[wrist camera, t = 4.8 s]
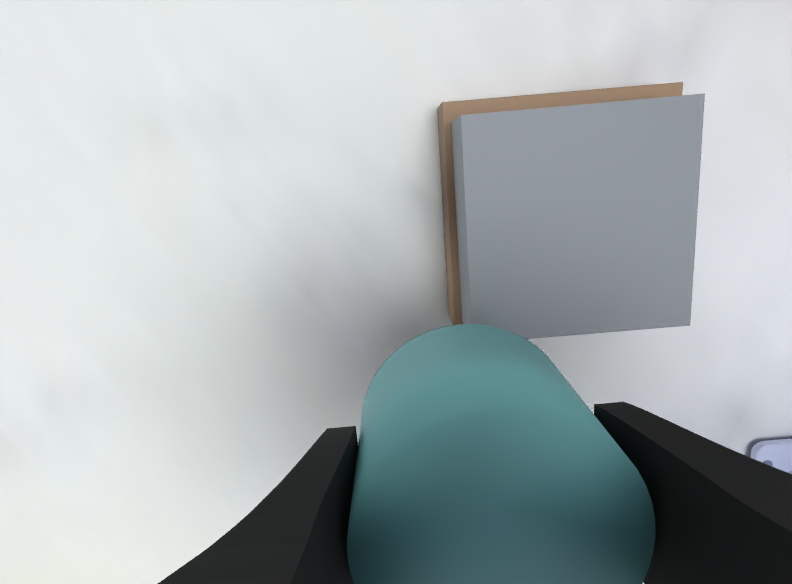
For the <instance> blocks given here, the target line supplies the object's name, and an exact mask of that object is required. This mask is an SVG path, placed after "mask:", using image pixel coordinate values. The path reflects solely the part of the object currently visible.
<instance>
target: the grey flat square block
mask: <svg viewBox="0 0 792 584" xmlns="http://www.w3.org/2000/svg"><path fill="white" fill-rule="evenodd" d="M704 97H705V94H695V95H683V96H672V97H661V98H649V99H638V100H627V101H616V102H604V103H593V104H582V105H570V106H559V107H548V108H536V109H525V110H514V111H502V112H491V113H480V114H468V115H460V116H459V117H458V118H456V119H455V120H454V121H452V122H451V130H452V148H453V167H454V185H455V203H456V222H457V240H458V258H459V277H460V295H461V313H462V321H463V324H479V325H489V326H493V327H498V328H502V329H505V330H507V331H510V332H513V333H515V334H517V335H519V336H521V337H523V338H525V339H531V338H543V337H555V336H567V335H579V334H591V333H604V332H616V331H628V330H640V329H652V328H664V327H676V326H689V325H690V318H691V302H692V286H693V270H694V255H695V239H696V223H697V207H698V191H699V176H700V160H701V144H702V128H703V112H704Z"/></svg>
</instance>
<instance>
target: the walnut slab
mask: <svg viewBox="0 0 792 584" xmlns="http://www.w3.org/2000/svg"><path fill="white" fill-rule="evenodd" d="M682 90H683V82H678V83H666V84H654V85H642V86H630V87H619V88H607V89H595V90H583V91H571V92H560V93H548V94H536V95H524V96H512V97H500V98H489V99H477V100H465V101H453V102H442V104H441V105H440V106H439V107H438V108H437V113H438V131H439V149H440V167H441V184H442V202H443V220H444V237H445V255H446V273H447V290H448V308H449V315H450V318H451V321H452V323H453V325H459V324H463V321H462V313H461V295H460V277H459V258H458V240H457V222H456V203H455V185H454V167H453V148H452V130H451V122H452V121H454V120H455V119H456V118H458V117H459V116H460V115H468V114H480V113H491V112H502V111H514V110H525V109H536V108H548V107H559V106H570V105H582V104H593V103H604V102H616V101H627V100H638V99H649V98H661V97H672V96H682Z"/></svg>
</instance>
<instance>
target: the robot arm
mask: <svg viewBox="0 0 792 584" xmlns="http://www.w3.org/2000/svg"><path fill="white" fill-rule="evenodd" d="M594 415H595V417H596V418H597V419H598V420H599V422H600V423H601V424H602V425H603V427H604V428H605V429H606V430H607V432H608V433H609V434H610V435H611V437H612V438H613V439H614V441H615V442H616V443H617V444H618V446H619V447H620V448H621V449H622V451H623V452H624V453H625V454H626V456H627V457H628V458H629V459H630V461H631V462H632V463H633V464H634V466H635V467H636V468H637V470H638V472H639V473H640V475H641V477H642V479H643V481H644V482H645V484H646V487H647V489H648V492H649V495H650V498H651V500H652V505H653V510H654V515H655V533H656V535H655V543H654V552H653V555H652V559H651V563H650V566H649V569H648V571H647V574H646V576H645V578H644V581H643V582H644V583H645V584H792V439H780V440H767V441H761V442H758V443H756V444H755V445H754V446H753V447H752V450H751V456H750V457H747V456H745V455H743V454H740V453H738V452H735V451H733V450H731V449H729V448H726V447H724V446H722V445H719V444H717V443H715V442H713V441H710V440H708V439H706V438H704V437H702V436H700V435H697V434H695V433H693V432H691V431H689V430H687V429H684V428H682V427H680V426H678V425H676V424H674V423H672V422H669V421H667V420H665V419H663V418H661V417H659V416H657V415H654V414H652V413H650V412H648V411H645V410H643V409H641V408H638V407H636V406H634V405H631V404H628V403H625V402H617V403H606V404H595V405H594ZM357 451H358V442H357V434H356V426H351V427H340V428H329V429H327V430H326V431H325V432H324V433H323V434H322V435H321V436H320V437H319V439H318V440H317V441H316V442H315V443H314V444H313V446H312V447H311V448H310V449H309V450H308V452H307V453H306V454H305V455H304V456H303V457H302V459H301V460H300V461H299V462H298V463H297V465H296V466H295V467H294V468H293V469H292V470H291V471H290V472H289V473H288V475H287V476H286V477H285V478H284V479H283V480H282V481H281V482H280V483H279V484H278V485H277V486H276V487H275V488H274V489H273V490H272V491H271V492H270V493H269V494H268V495H267V496H266V497H265V498H264V499H263V500H262V501H261V502H260V503H259V504H258V505H257V506H256V507H255V508H254V509H253V510H252V511H251V512H250V513H249V514H248V515H247V516H246V517H245V518H244V519H243V520H241V521H240V522H239V523H238V524H237V525H236V526H235V527H233V528H232V529H231V530H230V531H228V532H227V533H226V534H225V535H224V536H222V537H221V538H220V539H219V540H217V541H216V542H215V543H214V544H213V545H211V546H210V547H209V548H207V549H206V550H205V551H203V552H202V553H201V554H199V555H198V556H196V557H195V558H194V559H192V560H191V561H189V562H188V563H186V564H185V565H184V566H182V567H181V568H179V569H178V570H177V571H175V572H174V573H172V574H171V575H169V576H168V577H167V578H165V579H164V580H162V581H161V582H160V583H158V584H354V582H353V579H352V577H351V572H350V568H349V563H348V555H347V536H348V525H349V517H350V509H351V501H352V492H353V484H354V476H355V468H356V459H357ZM764 461H766V462H765V463H763V462H764Z"/></svg>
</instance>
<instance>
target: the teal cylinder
mask: <svg viewBox="0 0 792 584" xmlns="http://www.w3.org/2000/svg"><path fill="white" fill-rule="evenodd" d="M655 535H656V533H655V515H654V510H653V505H652V500H651V498H650V495H649V492H648V489H647V487H646V484H645V482H644V481H643V479H642V477H641V475H640V473H639V472H638V470H637V468H636V467H635V466H634V464H633V463H632V462H631V461H630V459H629V458H628V457H627V456H626V454H625V453H624V452H623V451H622V449H621V448H620V447H619V446H618V444H617V443H616V442H615V441H614V439H613V438H612V437H611V435H610V434H609V433H608V432H607V430H606V429H605V428H604V427H603V425H602V424H601V423H600V422H599V420H598V419H597V418H596V417H595V415H594V414H593V413H592V412H591V410H590V409H589V408H588V407H587V405H586V404H585V403H584V402H583V400H582V399H581V398H580V397H579V395H578V394H577V393H576V392H575V390H574V389H573V388H572V387H571V385H570V384H569V383H568V382H567V380H566V379H565V378H564V376H563V375H562V374H561V373H560V371H559V370H558V369H557V368H556V366H555V365H554V364H553V363H552V361H551V360H550V359H549V358H548V356H546V355H545V354H544V353H543V352H542V351H541V350H540V349H539V348H538V347H537V346H535V345H534V344H532V343H531V342H530V341H528V340H527V339H525V338H523V337H521V336H519V335H517V334H515V333H513V332H510V331H507V330H505V329H502V328H498V327H493V326H489V325H479V324H459V325H452V326H446V327H442V328H439V329H435V330H432V331H429V332H427V333H424V334H422V335H420V336H418V337H416V338H414V339H412V340H411V341H409V342H407V343H406V344H404V345H403V346H402V347H400V348H399V349H398V350H396V351H395V352H394V353H393V354H392V355H391V356H390V357H389V358H388V359H387V360H386V361H385V362H384V364H383V365H382V366H381V368H380V369H379V370H378V371H377V373H376V375H375V376H374V378H373V380H372V382H371V384H370V386H369V389H368V391H367V394H366V396H365V401H364V405H363V410H362V418H361V426H360V435H359V443H358V451H357V459H356V468H355V476H354V484H353V492H352V501H351V509H350V517H349V525H348V536H347V555H348V563H349V568H350V572H351V577H352V579H353V582H354V584H642V583H643V581H644V578H645V576H646V574H647V571H648V569H649V566H650V563H651V559H652V555H653V552H654V543H655Z"/></svg>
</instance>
